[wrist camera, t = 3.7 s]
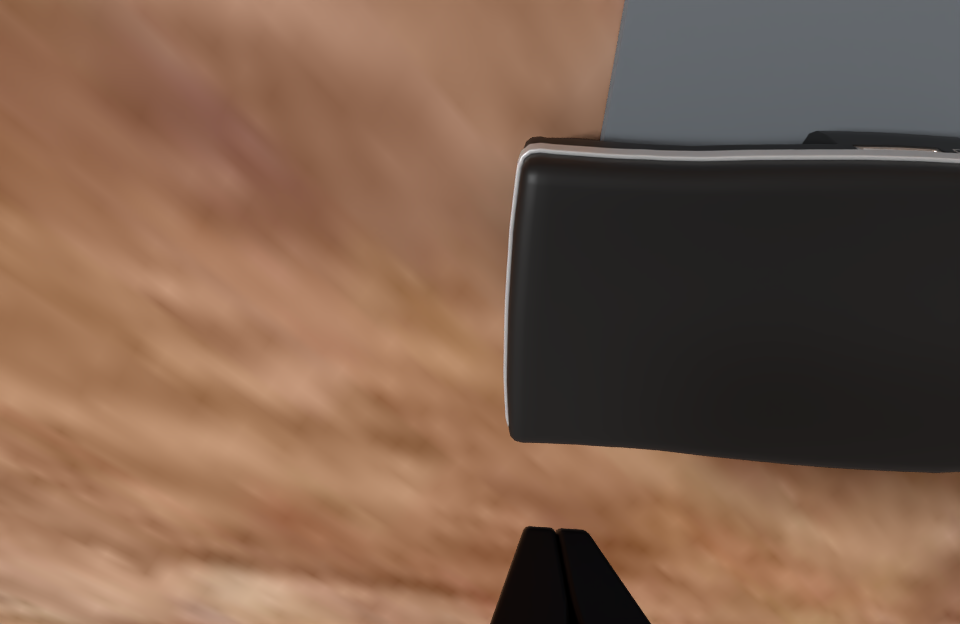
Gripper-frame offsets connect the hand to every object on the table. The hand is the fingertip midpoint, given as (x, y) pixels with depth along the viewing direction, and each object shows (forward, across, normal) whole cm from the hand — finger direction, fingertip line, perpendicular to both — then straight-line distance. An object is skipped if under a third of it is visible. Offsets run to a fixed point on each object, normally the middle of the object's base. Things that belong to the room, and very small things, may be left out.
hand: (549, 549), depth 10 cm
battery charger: (+8, 0, 0) cm, 8 cm away
